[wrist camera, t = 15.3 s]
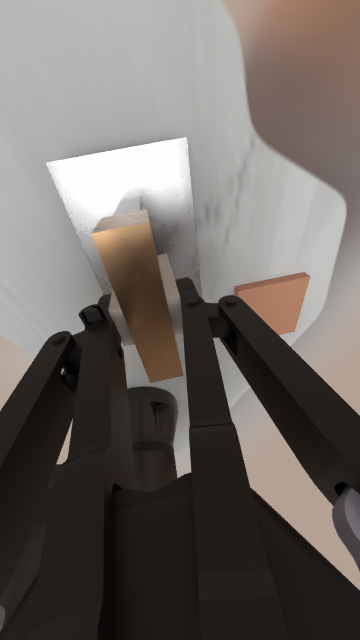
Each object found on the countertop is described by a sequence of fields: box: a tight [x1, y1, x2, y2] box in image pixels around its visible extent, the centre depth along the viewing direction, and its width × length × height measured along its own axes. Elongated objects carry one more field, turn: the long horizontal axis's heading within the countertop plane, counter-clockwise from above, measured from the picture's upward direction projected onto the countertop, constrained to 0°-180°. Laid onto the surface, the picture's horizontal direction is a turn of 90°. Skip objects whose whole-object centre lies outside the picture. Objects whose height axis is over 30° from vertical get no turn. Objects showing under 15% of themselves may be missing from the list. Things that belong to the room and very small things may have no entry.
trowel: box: [46, 137, 202, 383], centre depth 16 cm, size 16×10×11 cm, turn 8°
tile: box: [234, 272, 310, 335], centre depth 31 cm, size 2×10×10 cm
